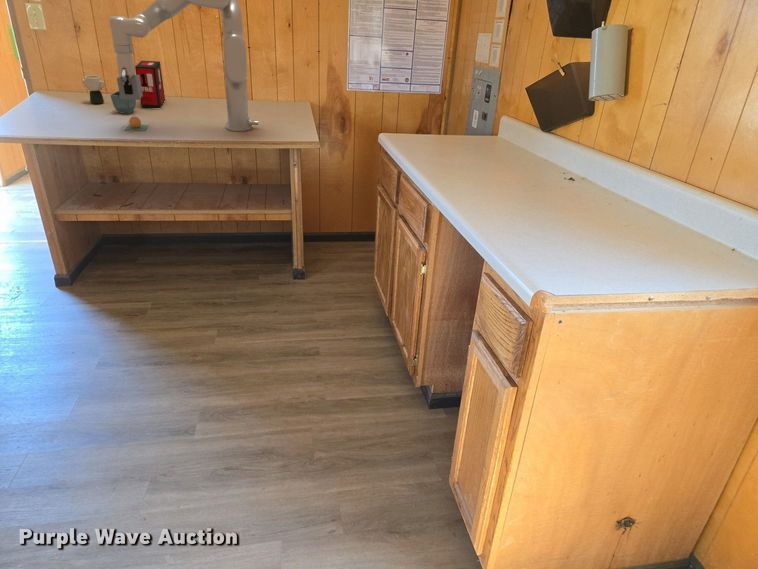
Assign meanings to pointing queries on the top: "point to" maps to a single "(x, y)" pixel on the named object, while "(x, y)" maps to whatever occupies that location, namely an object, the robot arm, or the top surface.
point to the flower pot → (122, 103)
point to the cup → (135, 87)
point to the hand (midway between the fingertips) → (131, 91)
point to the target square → (142, 127)
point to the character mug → (94, 88)
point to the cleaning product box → (151, 84)
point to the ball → (135, 122)
